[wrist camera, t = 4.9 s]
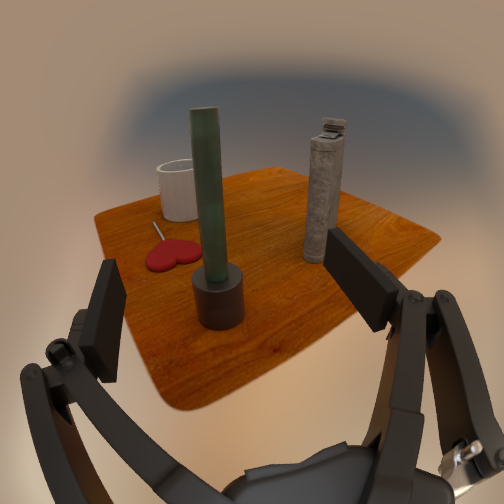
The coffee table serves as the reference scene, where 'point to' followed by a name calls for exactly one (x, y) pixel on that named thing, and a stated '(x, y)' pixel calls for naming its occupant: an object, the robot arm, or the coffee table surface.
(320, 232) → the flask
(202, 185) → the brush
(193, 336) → the coffee table surface
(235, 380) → the coffee table surface
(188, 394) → the coffee table surface
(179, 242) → the lollipop
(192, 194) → the canister
